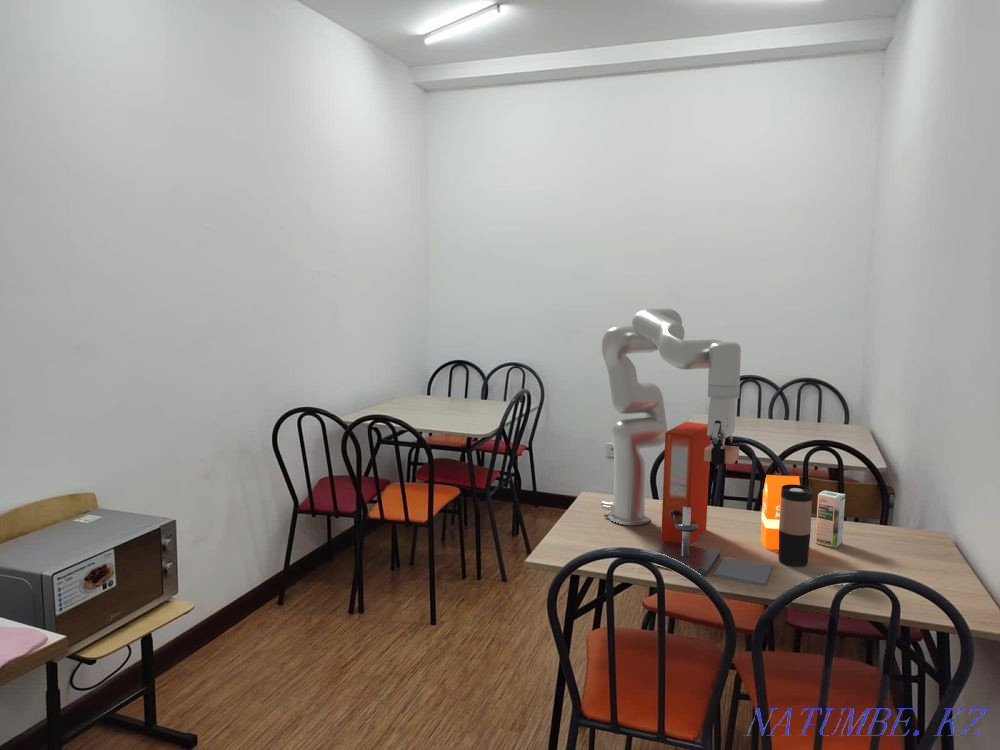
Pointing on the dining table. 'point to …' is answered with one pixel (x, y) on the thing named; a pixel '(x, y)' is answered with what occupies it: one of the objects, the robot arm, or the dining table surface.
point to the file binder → (685, 479)
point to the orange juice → (773, 508)
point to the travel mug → (795, 525)
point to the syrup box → (830, 518)
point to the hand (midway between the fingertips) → (721, 460)
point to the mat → (744, 571)
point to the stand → (690, 548)
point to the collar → (730, 453)
